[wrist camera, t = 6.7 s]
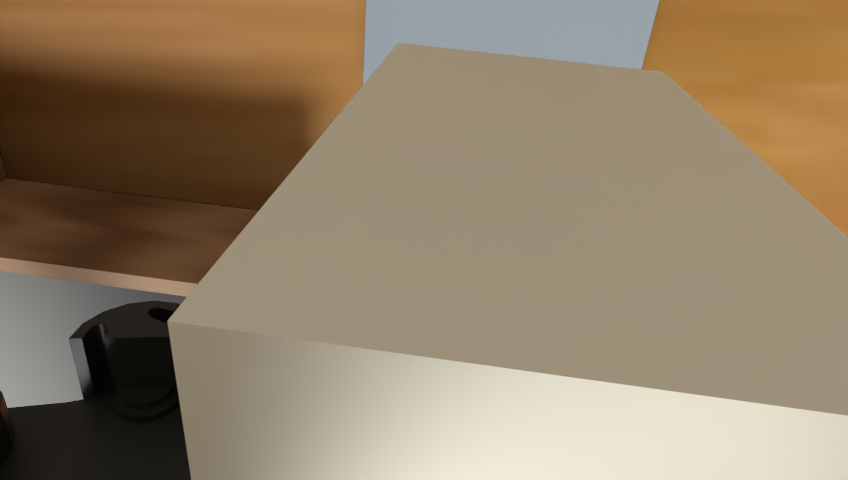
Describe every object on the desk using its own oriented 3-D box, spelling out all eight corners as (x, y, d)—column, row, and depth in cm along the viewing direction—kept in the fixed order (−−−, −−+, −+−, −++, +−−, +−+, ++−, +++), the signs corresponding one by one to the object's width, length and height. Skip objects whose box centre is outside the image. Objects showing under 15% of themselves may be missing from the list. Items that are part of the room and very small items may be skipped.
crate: (-2, 188, 27) (-124, 254, 22) (-104, -175, 20) (-314, -209, 15) (315, 230, 26) (269, 307, 21) (315, -133, 20) (249, -153, 14)
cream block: (380, 335, 15) (242, 817, 7) (398, 42, 11) (167, 320, 3) (583, 363, 14) (687, 899, 6) (663, 71, 11) (1084, 446, 3)
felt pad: (360, 195, 25) (358, 199, 25) (371, -71, 20) (369, -70, 20) (597, 225, 25) (599, 229, 24) (666, -40, 20) (669, -39, 19)
